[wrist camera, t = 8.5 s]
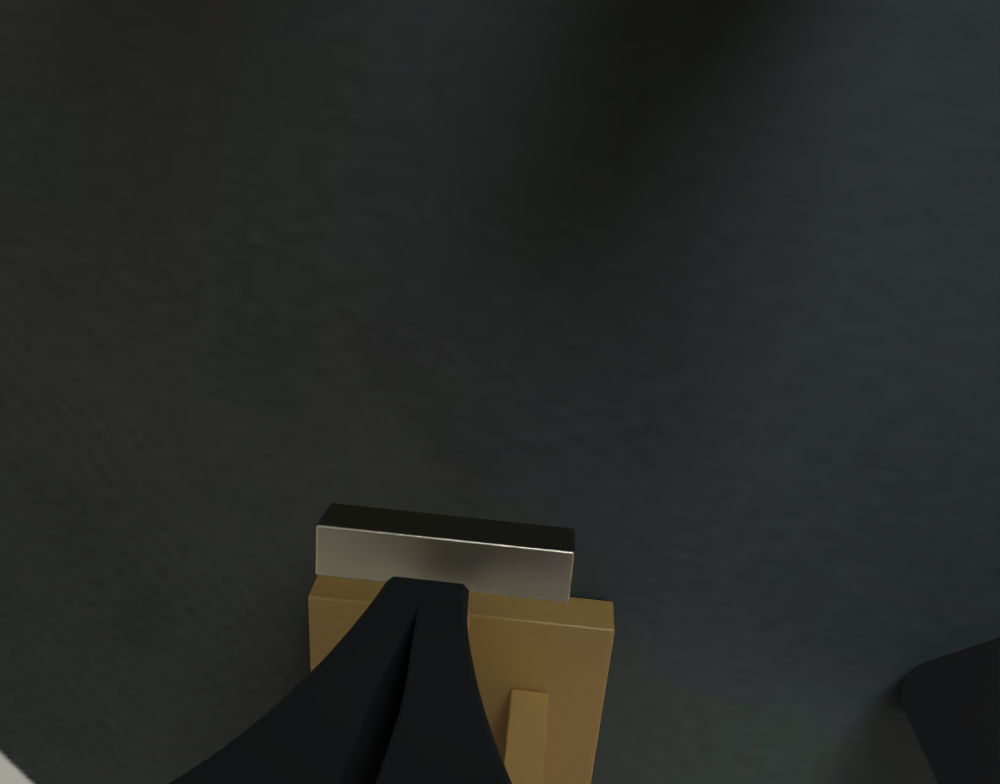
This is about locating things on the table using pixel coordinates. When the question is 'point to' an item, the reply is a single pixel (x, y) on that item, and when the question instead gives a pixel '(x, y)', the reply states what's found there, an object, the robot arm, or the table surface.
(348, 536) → the handle
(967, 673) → the nameplate
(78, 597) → the table surface
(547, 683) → the wooden lever stand
